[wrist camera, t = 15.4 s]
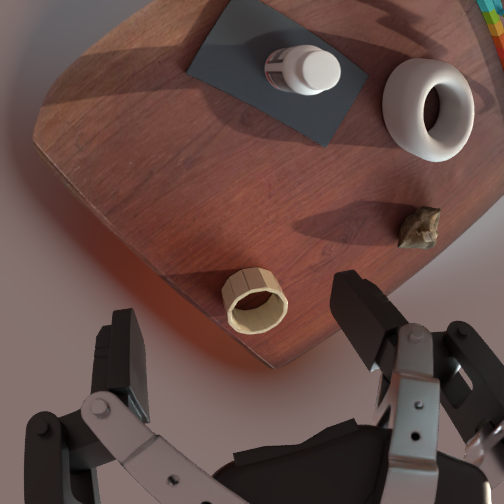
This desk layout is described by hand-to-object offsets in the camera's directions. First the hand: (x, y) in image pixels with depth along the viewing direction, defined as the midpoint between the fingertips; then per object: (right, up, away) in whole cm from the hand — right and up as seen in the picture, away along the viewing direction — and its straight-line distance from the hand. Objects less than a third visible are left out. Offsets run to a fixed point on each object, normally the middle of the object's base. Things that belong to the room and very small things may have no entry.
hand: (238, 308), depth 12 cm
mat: (+4, +24, +21) cm, 32 cm away
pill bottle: (+4, +24, +21) cm, 32 cm away
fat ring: (+25, +24, +27) cm, 44 cm away
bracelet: (0, -4, +37) cm, 38 cm away
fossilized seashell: (+28, +7, +39) cm, 49 cm away
